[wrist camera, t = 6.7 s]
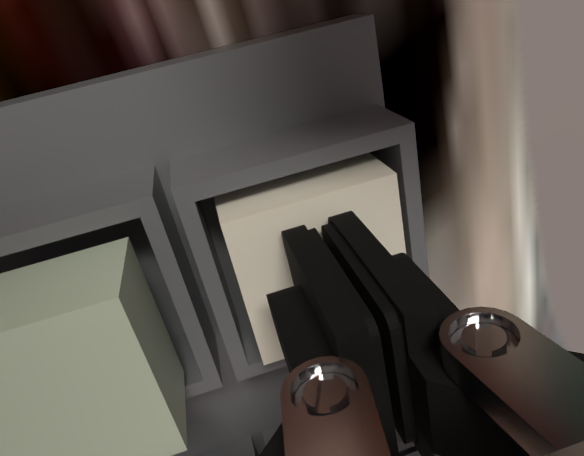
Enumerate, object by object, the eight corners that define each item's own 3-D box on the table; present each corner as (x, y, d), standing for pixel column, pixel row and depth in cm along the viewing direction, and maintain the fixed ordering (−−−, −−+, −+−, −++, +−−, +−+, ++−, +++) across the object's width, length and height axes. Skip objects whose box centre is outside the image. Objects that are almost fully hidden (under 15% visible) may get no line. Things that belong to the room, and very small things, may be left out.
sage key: (-60, 290, 10) (-123, 369, 8) (128, 236, 11) (118, 297, 9) (25, 422, 12) (-6, 515, 10) (183, 371, 13) (187, 450, 10)
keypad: (-113, 129, 12) (-209, 174, 9) (357, 13, 13) (413, 16, 10) (159, 583, 21) (157, 681, 18) (421, 486, 22) (461, 562, 19)
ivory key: (210, 185, 13) (219, 224, 10) (357, 144, 13) (396, 172, 11) (249, 309, 14) (263, 365, 12) (376, 269, 15) (413, 316, 13)
